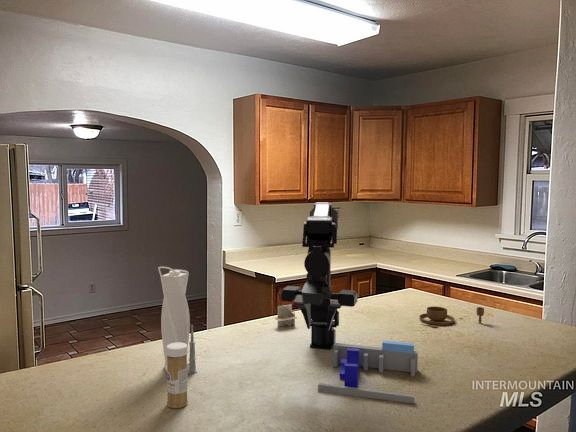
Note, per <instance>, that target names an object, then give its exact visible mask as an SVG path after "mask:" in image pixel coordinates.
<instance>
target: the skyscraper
mask: <svg viewBox="0 0 576 432" xmlns="http://www.w3.org/2000/svg"><path fill="white" fill-rule="evenodd" d="M157 269H158V273H159V275H160V281H161V288H162V292H163V300H162V306H161V319H160V322H161V323H160V324H161V325H160V326H161V327H160V329H161V338H162V339H161V341H162V349H163V355H164V365H163V369H164V371H165V373H166V374H167V355H166V347H167V345H169V344H171V343H177V342H181V343H185V344H187V348H189V358H188V362H187V376H188V375H193V374H197V373H198V371H197V367H196V366H197V365H196V360H197V357H196V347H195V346H196V341H195V337H194V332H195V331H193V330H194V329H193V328H194V325H193V324H191V322H190V320H191V319H190V318H191V317H190V309H189V305H188V300H187V296H186V293H187V287H188V281H189V280H188V279H189V275H190V274H189V270H185V269H179V268H171V267H169V266H158V268H157ZM161 269H168V270H169V272H168V273H164V274H162V271H161ZM190 328H191V329H190ZM189 340H190V341H189Z"/></svg>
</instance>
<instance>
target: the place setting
mask: <svg viewBox="0 0 576 432" xmlns="http://www.w3.org/2000/svg"><path fill="white" fill-rule="evenodd" d="M476 315H477V316H478V324H479V325H481V324H483V322H482V317H483V316H484V315H485V308H484V307H481V306H477V307H476ZM418 316H419V321H421V323H420V324H419V325H421V326H424V324H425V326H427V327H430V328H434V329H435V328H439V326H441V327H442V326H443V327H444V326H450V325H453V324H454V323H455V320H456V319H455V317H454V316H451V315H448V309H447V308H446V307H443V306H428V307H426V313H422V314H420V315H418ZM424 318H425V319H424ZM426 318H428V319H429V320H427V319H426ZM462 318H463V317H459V320H462ZM445 320H449V321H446V322H445ZM422 323H424V324H422Z"/></svg>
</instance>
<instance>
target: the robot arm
mask: <svg viewBox="0 0 576 432" xmlns="http://www.w3.org/2000/svg"><path fill="white" fill-rule="evenodd" d="M332 205H333V204H332V203H330V202H326V201H325V202H323V201H322V202H321V201H320V202H317V201H316V202H315V203H314V204H313V208H312V209H311V210H309V216H308V217H307V218H306V222H303V230H302V231H303V233H302V248H308V249H307V255H306V256H305V259H304V262H303V265H304V266H303V267H304V269H305V270H306V272H307V273H306V280H305V283H304V284H303V287H301V286H295V285H287V286H286V287H284V288H283V289H282V290H281V291H280V294H279V298H280V299H279V301H281V302H288V303H289V302H290V303H292V302H293V305H294V306H297V308H299V309H300V312H301V314H302V316H303V318H304V323H305V325H306V328H307V329H308V330H310V329H311V332H310V334H311V335H310V336H311V337H310V338H311V341H310V344H309V347H310V348H316V349H324V350H332V349H333V348H334V344H335V343H337V342H336V341H337V340H336V337H337V335H336V333H337V332H336V329H335V328H337V327H339V326H340V311H338V309H341V308H342V307H351V308H353V307H355V306H356V304H357V303H358V292H357V291H356V290H354V289H353V290H352V289H350V290H349V289H341V290H340V291H339V292H338V293H337V292H333V290H332V285H331V275H332V273H331V272H332V270H331V262H332V261H331V259H332V258H331V257H332V256H331V255H332V253H331V250H332V249H331V248H333V249H334V248H335V245H338V244H337V243H338V229H339V213H338V211H337V210H336V209H334V207H333V206H332Z"/></svg>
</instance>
